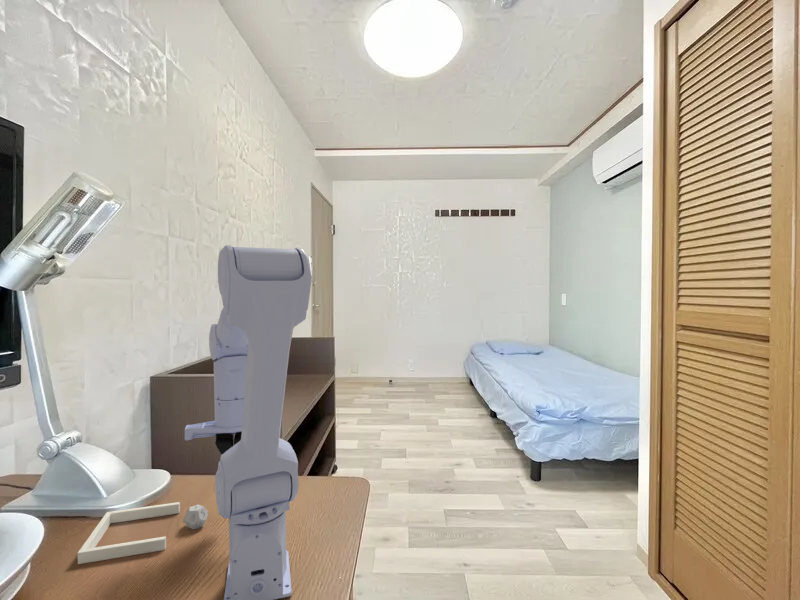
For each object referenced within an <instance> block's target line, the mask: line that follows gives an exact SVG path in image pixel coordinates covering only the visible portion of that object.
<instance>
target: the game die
mask: <svg viewBox="0 0 800 600" xmlns="http://www.w3.org/2000/svg"><path fill="white" fill-rule="evenodd" d="M208 515H209V511H208V509H206V507H205V506H204V505H201V504H195V505H192V506H189V508H188V509H187V511H186V512H185V516H184V519H183V523H184V524H185V525H186V527H187V528H188V529H192V531H193V530H195V529H200V528H201V527H203V526H204V525H205V523H206V522H207V518H208Z"/></svg>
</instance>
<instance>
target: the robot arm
mask: <svg viewBox="0 0 800 600" xmlns="http://www.w3.org/2000/svg"><path fill="white" fill-rule="evenodd" d="M310 265H311V263H310V260H309V257H308V255H307V254H306V253H305V251H304V249H302V248H300V247H296V248H276V247H275V248H272V247H246V246H232V245H231V244H230V245H229V244H226V245H224V246H223V248H221V249H220V251H219V254H218V260H217V282H218V283H217V284H218V289H219V290H218V291H219V293H220V295H221V301H222V305H223V306H222V309H221V311H220V315H219V319H218V321H217V323H213V324H211V325H210V329H209V333H208V334H209V335H208V345H209V346H208V347H209V354H210V357H211V360H212V361H213V390H214V391H213V393H214V395H213V397H214V401H213V402H214V404H213V405H214V420H212V421H211V420H210V421H206V422H199V423H195V424H186V425H185V428H184V441H191V440H193V439H200V438H209V437H215V447H216V448H217V449H218V450H217V451H218V452H219V453H220V454H221V455H220V459H219V461H218V464H217V471H216V472H215V476H214V477H215V481H214V482H215V483H214V487H215V488H214V489H215V490H214V491H215V500H216V507H217V512H218V515H219V516H221V517H222V518H223V519H224V520H225V519H228V537H229V538H228V540H229V541H228V542H229V546H228V547H229V561H228V566H227V574H226V581H225V587H224V588H225V589H224V590H225V591H224V596H223V597H224V598H223V600H278V599H284V598H288V597H291V595H292V593H293V592H292V591H293V589H292V581H291V570H290V569H291V568H290V557H289V555H290V553H289V551H288V550H287V529H286V528H287V521H286V518H287V516H286V515H287V514H286V513H287V512H288V511H289V510H290V502H293V501H294V500H295V499H296V496H297V495H298V493H299V487H300V485H299V484H300V482H299V480H300V479H299V474H298V473H299V472H298V471H299V461H298V457H297V454H296V452H295V450H294V449H293V446H292V444H291V443H290V442H288V441H287V440H285V439H283V438H280V437H281V429H282V420H283V419H282V418H283V410H284V402H285V393H286V385H287V384H286V383H287V376H288V369H289V368H288V366H289V360H290V359H289V358H290V352H291V351H290V350H291V349H290V348H291V343H292V340H293V339H292V338H293V331H294V328H295V327H297V326H298V325H299V324H301V323H303V321H305V320H306V318H307V312H308V309H309V304H310V296H311V288H312V270H311V266H310Z"/></svg>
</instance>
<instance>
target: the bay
mask: <svg viewBox="0 0 800 600" xmlns="http://www.w3.org/2000/svg"><path fill="white" fill-rule="evenodd" d="M180 512H181V501H178V502H170V503H163V504H154V505H150V506H149V505H148V506H140V507H134V508H128V509H118V510H113V511H106V513H105V514H104V516H103V517H102V518H101V520H100V521H99V522H98V524H97V525H96V527H95V528H94V529H93V531H92V532H91V534H90V535H89V536H88V537H87V539H86V541H85V542H84V543H83V544H82V546H81V547H80V549H79V550H78V552H77V565H81V564H82V565H83V564H88V563H93V562H99V561H104V560H105V561H106V560H111V559H118V558H123V557H124V558H125V557H130V556H134V555H141V554H147V553H148V554H149V553H153V552H160V551H165V550H166V548H167V536H166V535H164V536H160V537H154V538H153V537H152V538H147V539H141V540H133V541H129V542H128V541H127V542H126V541H125V542H122V543H115V544H109V545H103V546H102V545H101V546H98V543H99V542H100V540H101V539H102V537H103V536H104V535H105V533H106V531H108V528H109V527H110V525H111V524H114V523H122V522H128V521H134V520H142V519H149V518H155V517H156V518H157V517H163V516H169V515H175V514H176V515H177V514H180Z"/></svg>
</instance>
